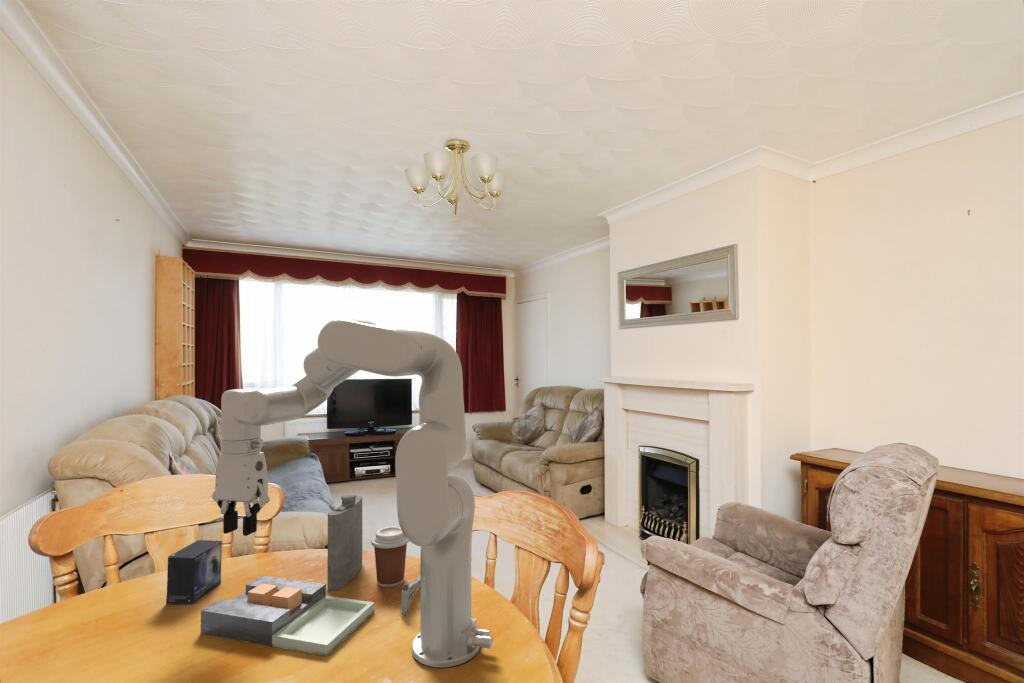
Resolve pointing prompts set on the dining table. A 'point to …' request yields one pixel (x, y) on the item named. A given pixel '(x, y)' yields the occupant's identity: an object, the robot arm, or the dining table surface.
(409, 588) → the caliper
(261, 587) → the chip
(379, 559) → the coffee cup
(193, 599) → the small box
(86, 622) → the dining table surface
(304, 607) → the slot block
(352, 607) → the tray
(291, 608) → the chip
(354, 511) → the hip flask
